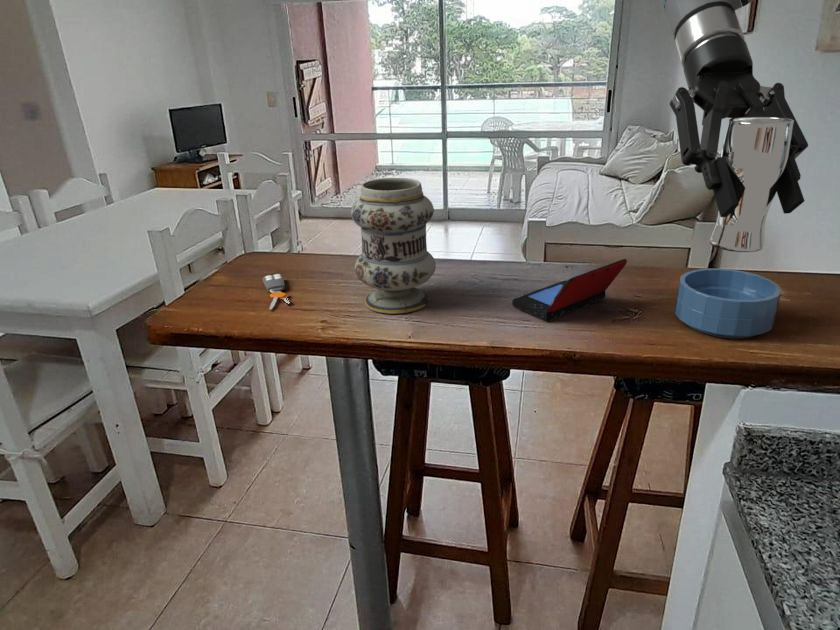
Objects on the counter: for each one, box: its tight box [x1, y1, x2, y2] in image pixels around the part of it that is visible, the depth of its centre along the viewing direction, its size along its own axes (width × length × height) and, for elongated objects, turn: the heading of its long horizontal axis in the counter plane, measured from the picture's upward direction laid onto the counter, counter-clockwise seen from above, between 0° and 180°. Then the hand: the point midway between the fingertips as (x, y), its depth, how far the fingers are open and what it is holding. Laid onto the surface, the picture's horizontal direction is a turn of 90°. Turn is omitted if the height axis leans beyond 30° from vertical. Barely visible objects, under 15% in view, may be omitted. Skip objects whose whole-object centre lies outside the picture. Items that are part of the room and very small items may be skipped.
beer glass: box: [709, 117, 794, 253], centre depth 69 cm, size 7×7×15 cm
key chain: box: [262, 273, 290, 311], centre depth 92 cm, size 13×4×2 cm, turn 19°
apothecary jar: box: [350, 177, 437, 315], centre depth 84 cm, size 12×12×18 cm
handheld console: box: [511, 258, 628, 322], centre depth 81 cm, size 12×11×7 cm
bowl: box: [674, 267, 782, 339], centre depth 75 cm, size 12×12×6 cm
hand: (761, 209), depth 67 cm, fingers closed on beer glass, 7 cm apart
